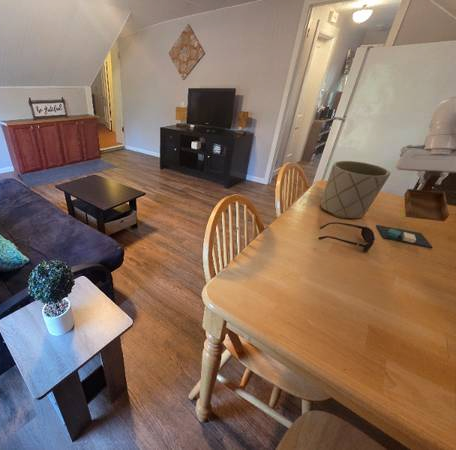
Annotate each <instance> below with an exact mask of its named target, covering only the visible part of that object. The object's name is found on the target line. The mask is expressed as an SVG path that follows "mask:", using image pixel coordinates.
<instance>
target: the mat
mask: <svg viewBox="0 0 456 450" xmlns="http://www.w3.org/2000/svg"><path fill="white" fill-rule="evenodd" d="M376 228H377V230H378V232H379V234H380V236H381V237H382V239H383V240H387V241H388V240H389V241H393V242H398V243H403V244H408V245H412V246H417V247H418V246H419V247H423V248H428V249H433V246H432V244H431V243H430V241H428V239H427V237H425V236H424V234H423V233H422V232H418V231H413V230H409V229H403V228H397V227H391V226H385V225H380V224H376ZM391 229H395V230H398V231H400V232H402V233H401V234H400V235H399V236H398V237H397V238H393V237H391V236H388V235H387V233H388V232H389V231H390V230H391ZM404 232H405V233H409V234H413V235H415V238H416V241H415V242H414V243H412V242H408V241H404V240H403V238H402V234H403V233H404Z"/></svg>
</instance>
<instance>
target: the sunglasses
mask: <svg viewBox="0 0 456 450" xmlns="http://www.w3.org/2000/svg"><path fill="white" fill-rule="evenodd" d="M329 225H341V226H347V227H351V228H356V229H359V230H360V231H361V232H360V234H361V238H362V239H363V240H364V242H365V244H364V243H359V242H355V241H351V240H347V239H343V238H339V237H334V236H331V235H324V236H319V237H318V240H324V239H333V240H336V241H339V242H343V243H346V244H350V245H353V246H356V247H359V248H363V249H362V251H363V253H368V252H369V251H370V249H371V248H372V247H373V245H374V242H375V241H376V237H375V233H374V231H373V229H371V228H370V227H368V226H363V225H359V224H353V223H346V222H338V221H337V222H336V221H332V222H327V223H326V224H323V225H321V226H320V227H319V230H323V229H325V228H326V227H327V226H329Z"/></svg>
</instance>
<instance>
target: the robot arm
mask: <svg viewBox="0 0 456 450" xmlns="http://www.w3.org/2000/svg"><path fill="white" fill-rule="evenodd" d="M428 127H429V131H428V133H427V134H426V136H425V139H424V143H423V144H416V145H415V144H408V145H405V146H403V147H401V149H400V150H399V151H400V152H399V159H398V161H397V164H396V169H397V170H398V171H411V172H417V173H416V175H417V177H418V179H419V180H418V184H420V185H422V184H425V183H426V181H427V179H426V178H425V177H424V175H425V173H426V172H428V173H430V172H431V171H432V172H440V178H439V179H438V180H437V182H436V183H435V185H436V186H441V184H442V182H443V180H444V179H445V178H446V177H448V176H449V174H456V96H452V97H449V98H447V99H445V100H443V101H441V102H440V103H439V104H438V105H437V106H436V108H435V109H434V111H433V114H432V117H431V119H430V122H429V125H428ZM435 185H434V186H435Z"/></svg>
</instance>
